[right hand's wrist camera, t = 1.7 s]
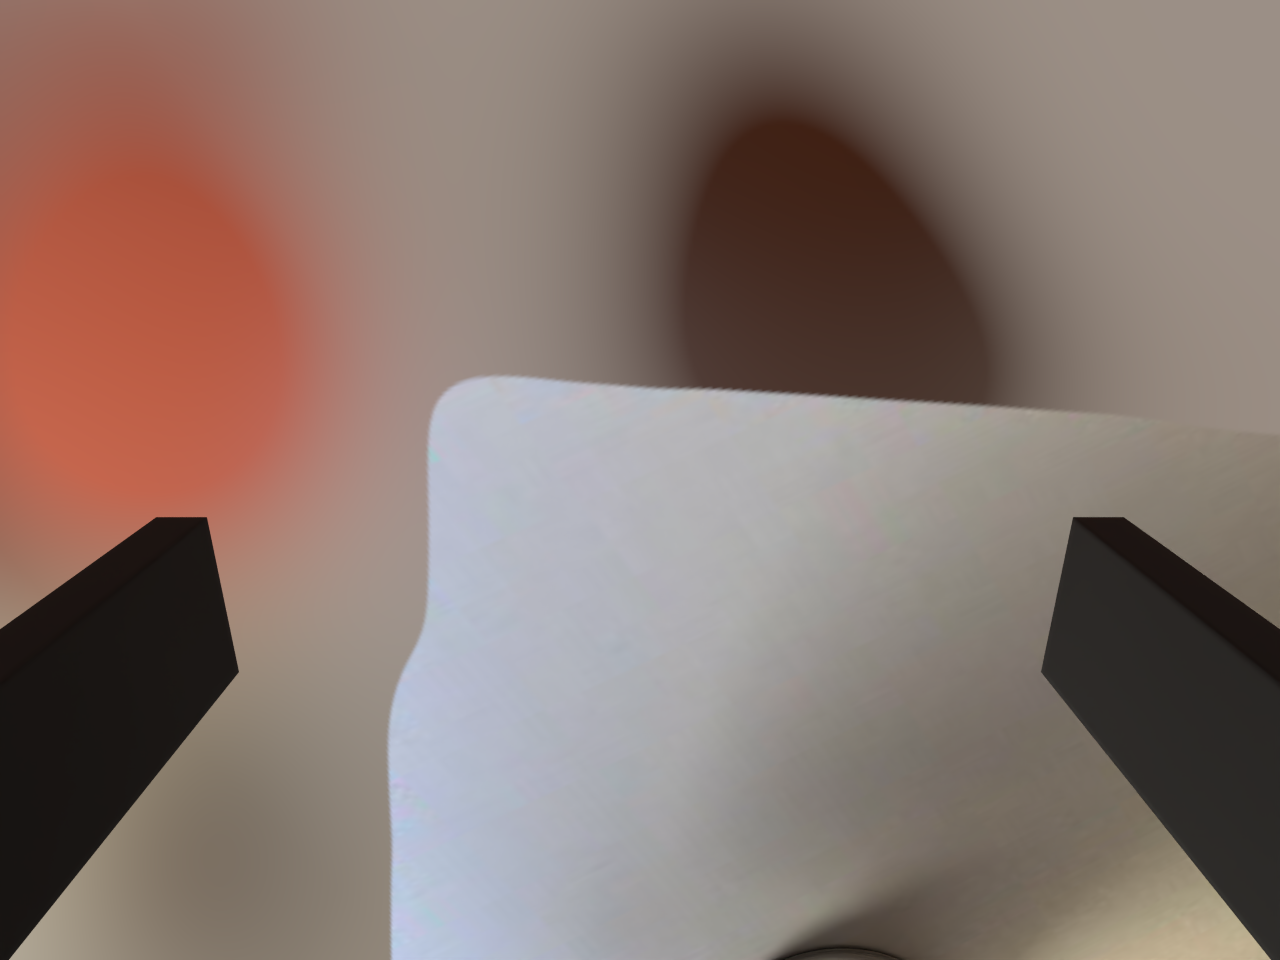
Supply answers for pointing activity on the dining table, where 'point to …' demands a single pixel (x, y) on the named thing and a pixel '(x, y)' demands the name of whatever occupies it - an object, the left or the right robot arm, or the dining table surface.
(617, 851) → the dining table surface
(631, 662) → the dining table surface
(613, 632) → the dining table surface
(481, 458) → the dining table surface
